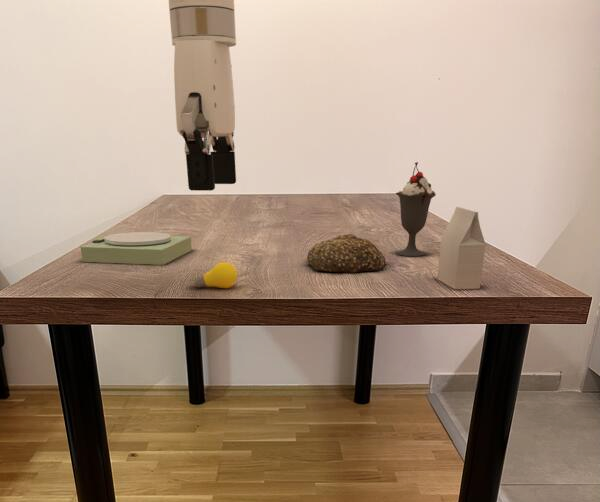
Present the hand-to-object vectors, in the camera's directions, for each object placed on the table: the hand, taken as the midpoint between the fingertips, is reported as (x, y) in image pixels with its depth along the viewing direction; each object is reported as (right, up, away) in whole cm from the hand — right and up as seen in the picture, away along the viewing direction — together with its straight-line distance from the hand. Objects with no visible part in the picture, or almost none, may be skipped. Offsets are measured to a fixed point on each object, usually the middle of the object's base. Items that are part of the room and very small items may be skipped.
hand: (213, 186), depth 82 cm
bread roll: (+19, -5, +20) cm, 28 cm away
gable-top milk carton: (+34, -11, +9) cm, 36 cm away
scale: (-17, -1, +27) cm, 32 cm away
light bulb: (0, -12, +6) cm, 13 cm away
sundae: (+31, 0, +30) cm, 43 cm away
